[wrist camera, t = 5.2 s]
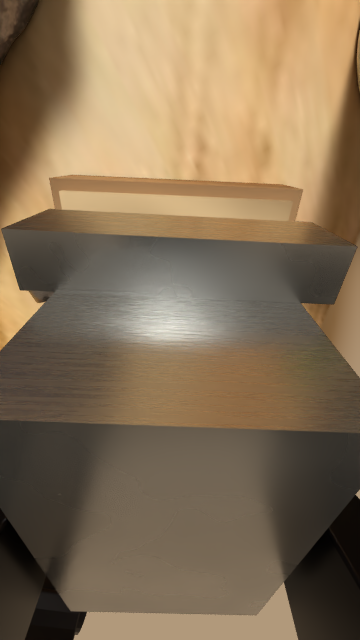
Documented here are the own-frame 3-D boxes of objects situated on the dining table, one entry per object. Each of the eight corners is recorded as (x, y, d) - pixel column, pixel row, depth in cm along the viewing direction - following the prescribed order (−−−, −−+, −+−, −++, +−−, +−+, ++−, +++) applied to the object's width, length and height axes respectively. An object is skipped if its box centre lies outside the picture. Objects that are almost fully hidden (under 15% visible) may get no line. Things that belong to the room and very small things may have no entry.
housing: (240, 459, 12) (271, 625, 8) (99, 455, 12) (53, 621, 8) (311, 222, 6) (554, 350, 2) (49, 209, 6) (-217, 318, 2)
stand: (250, 329, 20) (262, 358, 17) (94, 324, 20) (80, 352, 17) (282, 184, 15) (306, 190, 12) (71, 174, 15) (45, 178, 12)
